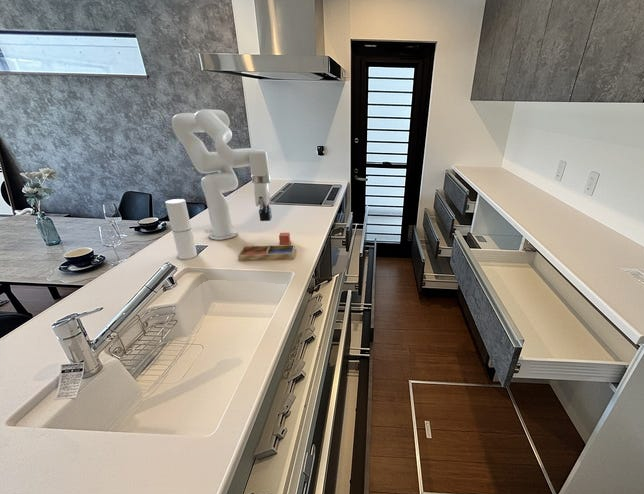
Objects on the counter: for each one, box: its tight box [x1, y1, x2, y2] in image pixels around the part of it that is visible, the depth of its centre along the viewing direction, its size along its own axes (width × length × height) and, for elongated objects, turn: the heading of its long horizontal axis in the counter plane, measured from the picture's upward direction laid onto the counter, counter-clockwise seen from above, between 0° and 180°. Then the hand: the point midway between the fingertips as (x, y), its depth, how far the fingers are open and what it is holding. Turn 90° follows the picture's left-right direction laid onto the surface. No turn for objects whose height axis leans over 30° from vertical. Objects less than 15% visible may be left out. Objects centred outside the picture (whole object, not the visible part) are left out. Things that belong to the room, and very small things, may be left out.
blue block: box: [258, 206, 273, 222], centre depth 139 cm, size 4×4×5 cm
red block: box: [278, 232, 291, 245], centre depth 150 cm, size 4×4×5 cm
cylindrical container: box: [164, 198, 198, 260], centre depth 130 cm, size 7×7×25 cm
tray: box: [237, 244, 296, 262], centre depth 137 cm, size 23×10×2 cm, turn 98°
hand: (266, 218), depth 139 cm, fingers closed on blue block, 4 cm apart
